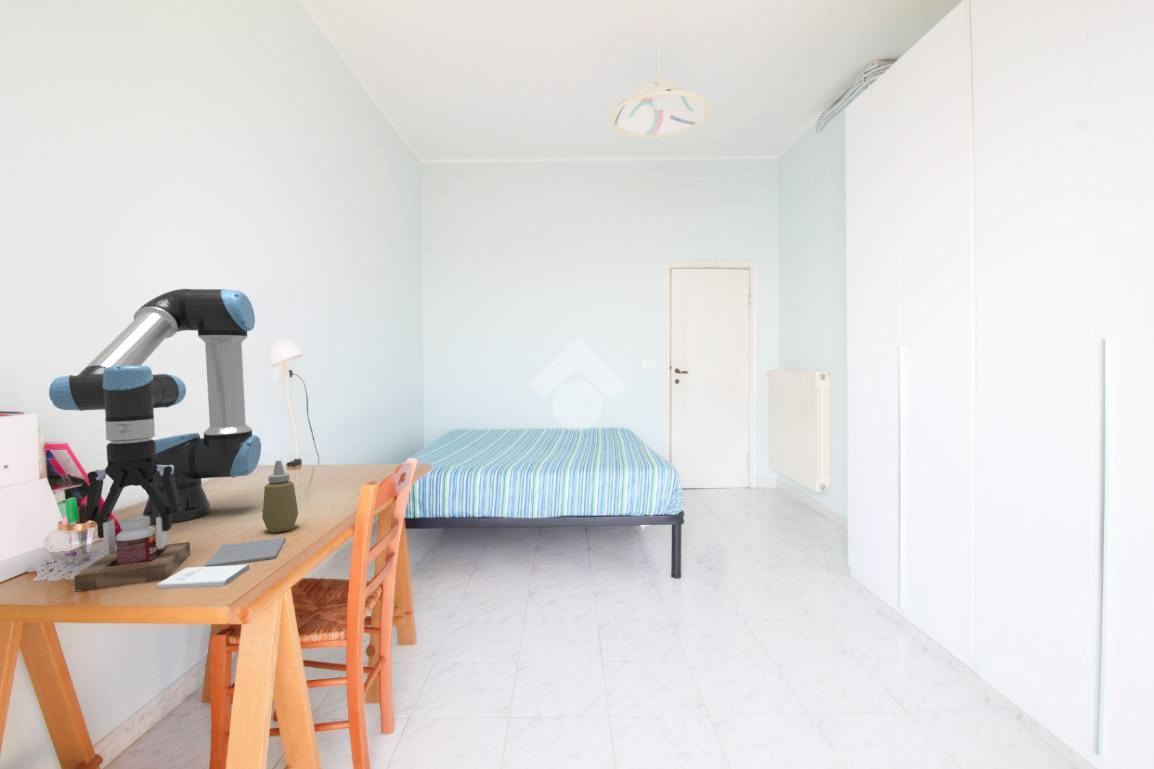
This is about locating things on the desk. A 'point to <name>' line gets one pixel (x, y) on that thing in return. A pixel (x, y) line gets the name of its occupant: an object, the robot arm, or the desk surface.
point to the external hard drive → (203, 576)
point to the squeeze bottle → (279, 501)
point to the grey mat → (246, 552)
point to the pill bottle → (136, 541)
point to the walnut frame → (132, 568)
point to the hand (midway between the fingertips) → (136, 549)
